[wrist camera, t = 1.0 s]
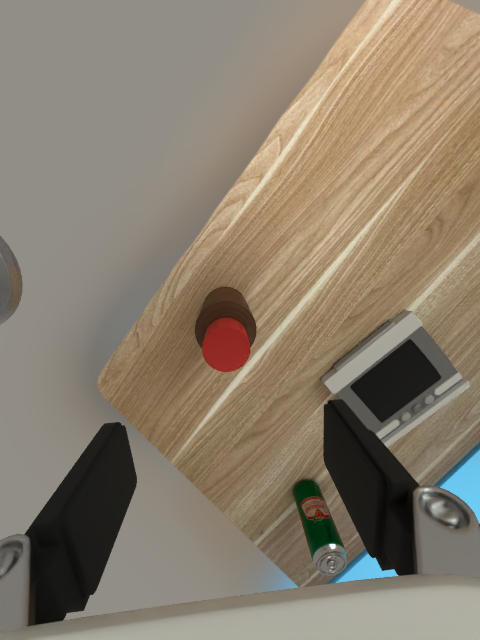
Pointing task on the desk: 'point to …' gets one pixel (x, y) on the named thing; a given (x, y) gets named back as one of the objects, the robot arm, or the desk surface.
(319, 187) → the desk surface
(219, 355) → the cap
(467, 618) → the robot arm
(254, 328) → the bottle
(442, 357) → the alarm clock
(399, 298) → the desk surface
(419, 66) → the desk surface
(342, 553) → the soda can
